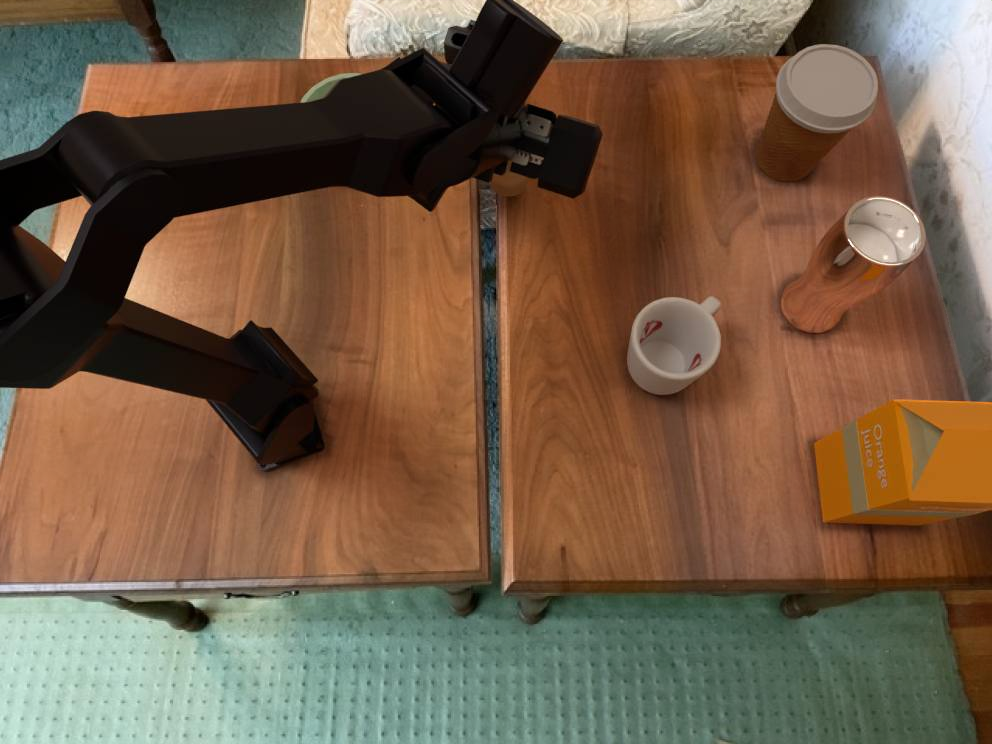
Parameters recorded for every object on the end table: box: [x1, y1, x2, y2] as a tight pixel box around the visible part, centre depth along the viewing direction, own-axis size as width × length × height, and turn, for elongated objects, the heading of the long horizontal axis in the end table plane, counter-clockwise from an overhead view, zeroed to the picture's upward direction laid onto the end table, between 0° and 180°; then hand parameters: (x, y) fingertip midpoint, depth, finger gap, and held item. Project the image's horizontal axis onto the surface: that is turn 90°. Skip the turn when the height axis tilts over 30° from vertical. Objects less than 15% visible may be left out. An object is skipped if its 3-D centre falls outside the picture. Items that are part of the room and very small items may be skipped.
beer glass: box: [780, 195, 927, 334], centre depth 64 cm, size 7×7×15 cm
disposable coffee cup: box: [755, 43, 879, 183], centre depth 72 cm, size 10×10×12 cm
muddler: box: [488, 100, 531, 197], centre depth 68 cm, size 4×4×14 cm
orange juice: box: [813, 398, 992, 527], centre depth 56 cm, size 8×9×20 cm
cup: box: [626, 295, 722, 396], centre depth 66 cm, size 11×8×8 cm
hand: (514, 125), depth 68 cm, fingers closed on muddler, 3 cm apart
